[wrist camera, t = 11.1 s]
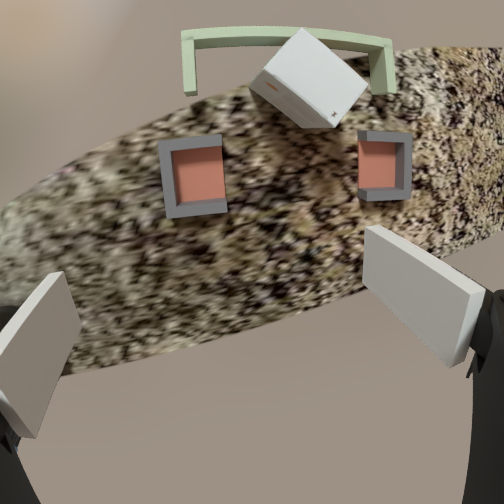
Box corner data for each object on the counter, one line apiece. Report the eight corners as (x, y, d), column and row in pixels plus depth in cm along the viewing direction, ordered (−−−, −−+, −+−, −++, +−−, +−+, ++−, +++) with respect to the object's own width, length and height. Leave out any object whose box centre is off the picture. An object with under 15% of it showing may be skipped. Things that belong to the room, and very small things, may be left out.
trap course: (169, 213, 36) (165, 222, 32) (155, 45, 29) (149, 35, 25) (400, 195, 39) (417, 201, 35) (396, 49, 32) (413, 44, 28)
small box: (329, 95, 33) (372, 85, 24) (301, 129, 34) (336, 130, 25) (276, 52, 31) (302, 24, 21) (246, 86, 32) (262, 68, 22)
